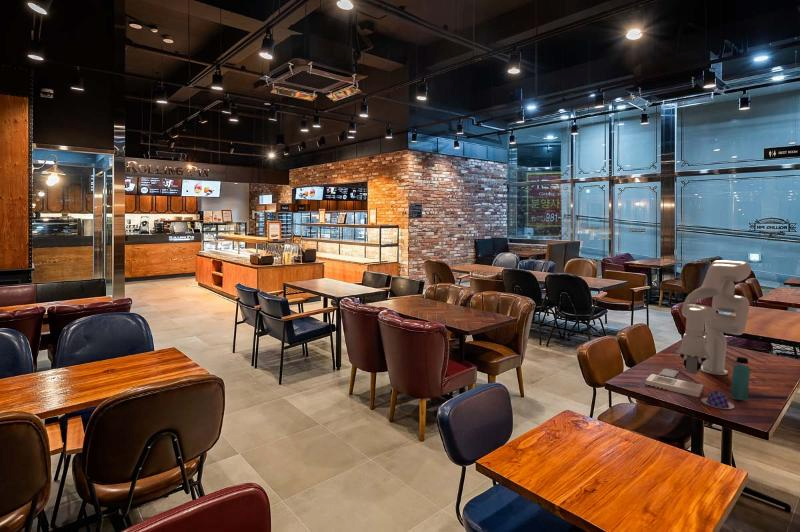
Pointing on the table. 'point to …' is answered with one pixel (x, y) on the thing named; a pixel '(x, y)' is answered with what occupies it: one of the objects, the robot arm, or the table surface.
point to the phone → (668, 373)
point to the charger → (691, 364)
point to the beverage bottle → (740, 379)
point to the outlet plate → (675, 385)
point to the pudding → (718, 400)
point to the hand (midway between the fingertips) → (692, 368)
